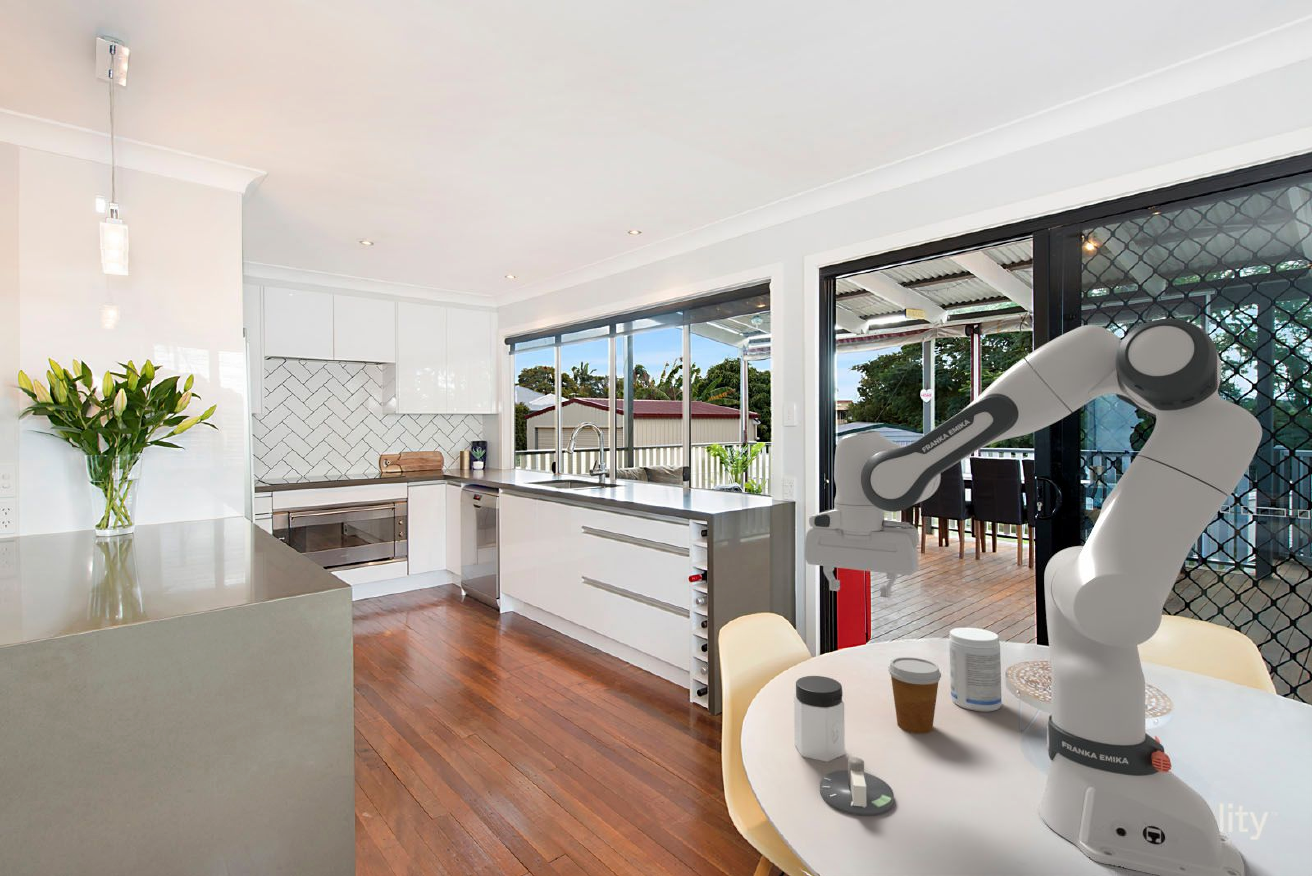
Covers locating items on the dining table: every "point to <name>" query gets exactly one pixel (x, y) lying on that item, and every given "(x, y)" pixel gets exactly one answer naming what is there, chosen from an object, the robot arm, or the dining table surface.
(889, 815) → the dining table surface
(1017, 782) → the dining table surface
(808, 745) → the jar
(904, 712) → the disposable coffee cup
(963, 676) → the supplement tub
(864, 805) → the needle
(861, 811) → the dial
